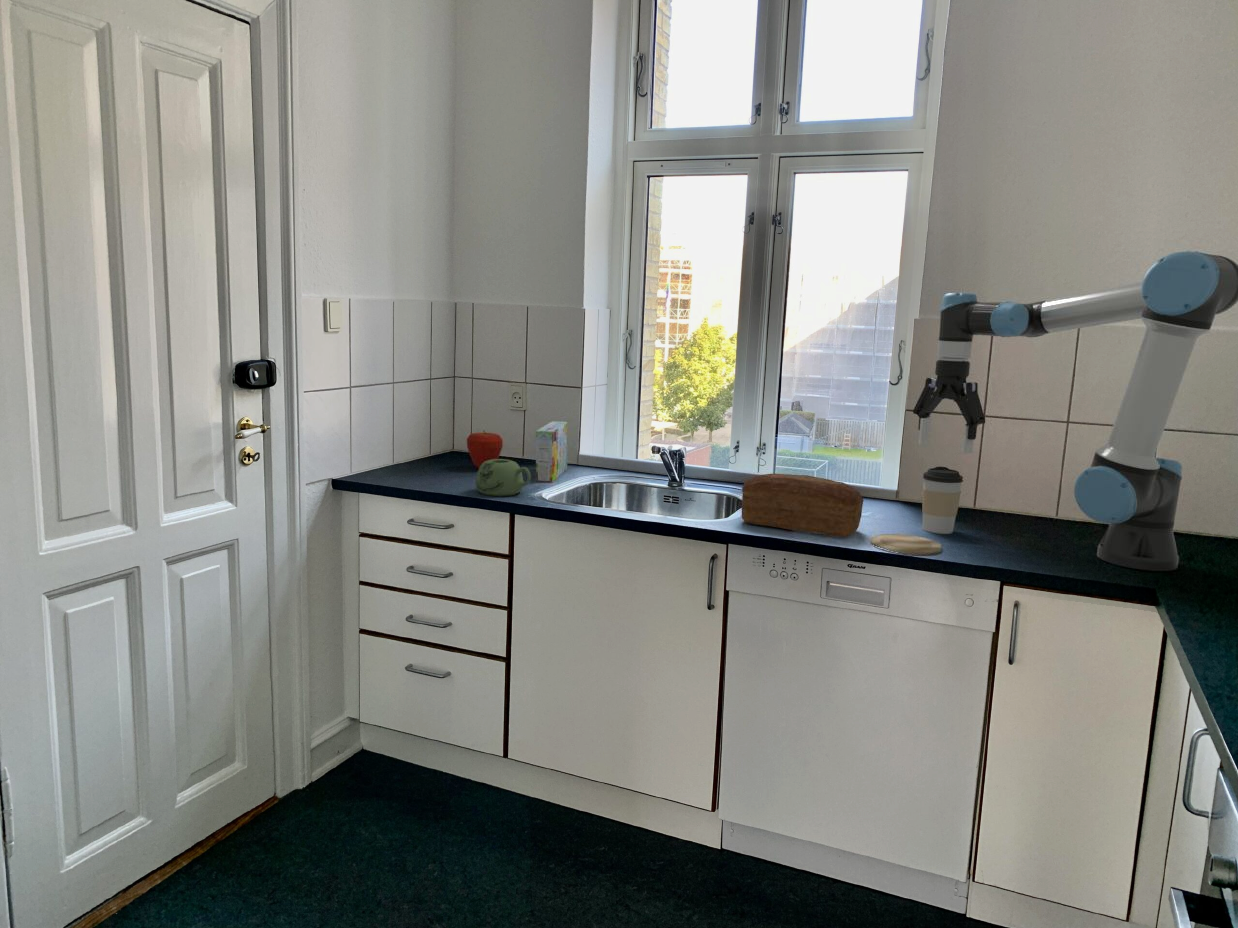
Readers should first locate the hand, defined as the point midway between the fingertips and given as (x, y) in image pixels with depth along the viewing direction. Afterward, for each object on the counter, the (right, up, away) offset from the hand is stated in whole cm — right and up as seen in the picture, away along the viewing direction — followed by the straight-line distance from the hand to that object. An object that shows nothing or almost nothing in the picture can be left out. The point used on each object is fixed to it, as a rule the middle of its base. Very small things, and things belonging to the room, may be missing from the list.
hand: (944, 448), depth 212 cm
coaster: (-14, -22, -15) cm, 30 cm away
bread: (-35, -19, -1) cm, 40 cm away
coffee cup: (-1, -20, +1) cm, 20 cm away
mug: (-109, -12, +25) cm, 112 cm away
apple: (-119, -5, +58) cm, 133 cm away
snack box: (-98, -7, +52) cm, 111 cm away
